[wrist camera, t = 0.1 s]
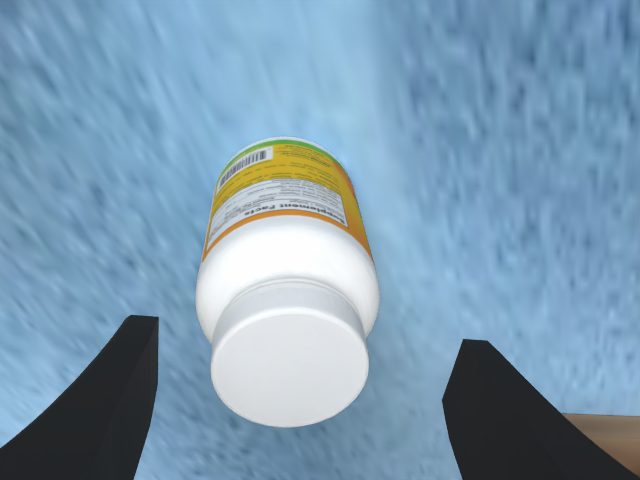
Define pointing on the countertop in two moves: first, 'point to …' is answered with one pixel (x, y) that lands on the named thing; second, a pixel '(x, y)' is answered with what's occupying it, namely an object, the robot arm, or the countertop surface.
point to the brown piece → (613, 436)
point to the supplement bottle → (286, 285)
